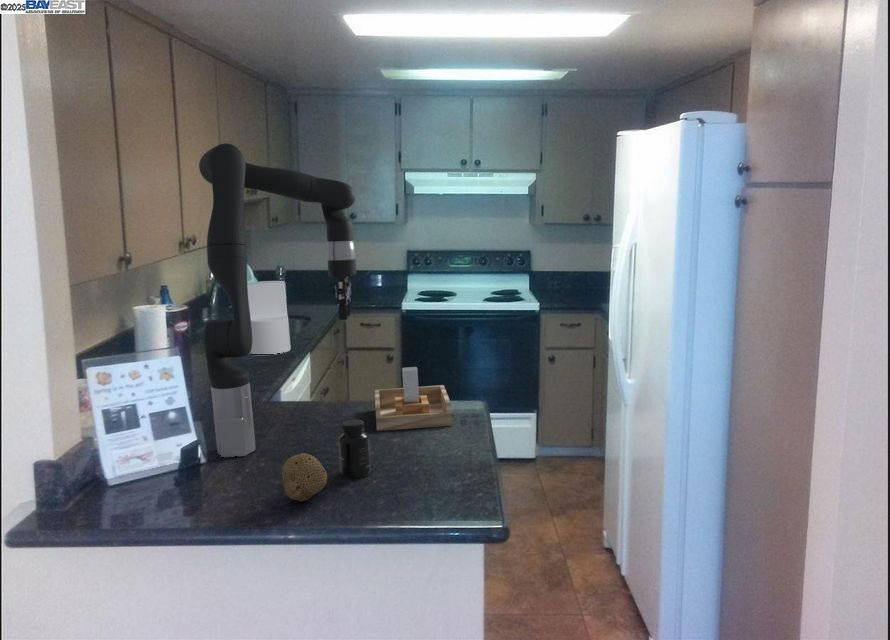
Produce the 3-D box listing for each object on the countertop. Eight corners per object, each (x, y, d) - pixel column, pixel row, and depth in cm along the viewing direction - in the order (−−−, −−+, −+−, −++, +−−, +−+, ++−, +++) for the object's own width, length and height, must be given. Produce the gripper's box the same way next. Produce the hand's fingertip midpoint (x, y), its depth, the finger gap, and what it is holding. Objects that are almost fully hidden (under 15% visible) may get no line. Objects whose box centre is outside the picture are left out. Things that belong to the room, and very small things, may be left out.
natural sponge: (330, 490, 160) (327, 445, 158) (325, 508, 151) (322, 460, 150) (287, 493, 160) (284, 448, 158) (280, 510, 151) (276, 463, 149)
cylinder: (244, 349, 315) (238, 283, 311) (285, 344, 322) (280, 279, 318) (252, 357, 300) (245, 287, 295) (295, 351, 307) (289, 283, 302)
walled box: (452, 425, 201) (451, 403, 200) (376, 430, 199) (375, 409, 198) (444, 404, 221) (443, 385, 220) (376, 409, 219) (374, 389, 218)
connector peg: (419, 412, 208) (417, 370, 206) (405, 413, 208) (402, 371, 206) (418, 408, 212) (416, 366, 210) (404, 409, 211) (402, 367, 209)
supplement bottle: (334, 477, 168) (330, 425, 166) (352, 466, 174) (348, 416, 172) (360, 481, 165) (356, 428, 163) (377, 470, 171) (374, 419, 169)
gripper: (353, 258, 196) (356, 320, 198) (357, 256, 210) (360, 314, 212) (324, 260, 196) (328, 321, 198) (330, 257, 210) (333, 315, 212)
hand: (344, 317), depth 205 cm, fingers open, 8 cm apart
